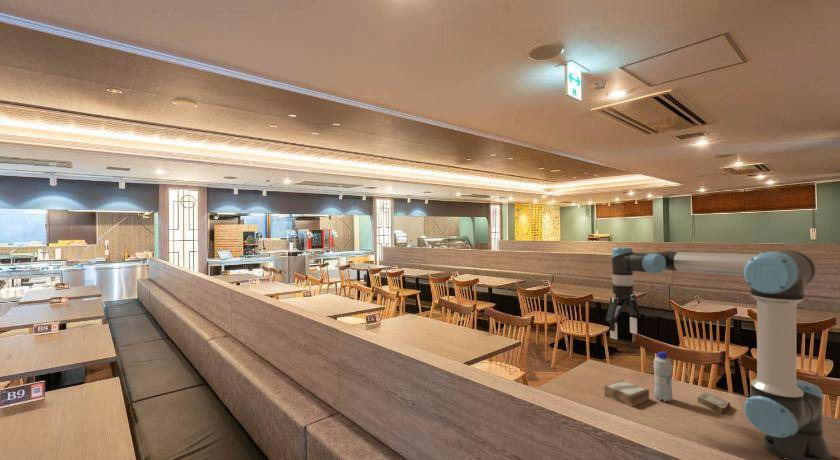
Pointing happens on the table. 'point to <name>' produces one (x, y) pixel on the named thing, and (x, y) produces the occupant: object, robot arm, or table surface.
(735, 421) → the table surface
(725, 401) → the stone
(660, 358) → the bottle
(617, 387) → the picture frame
